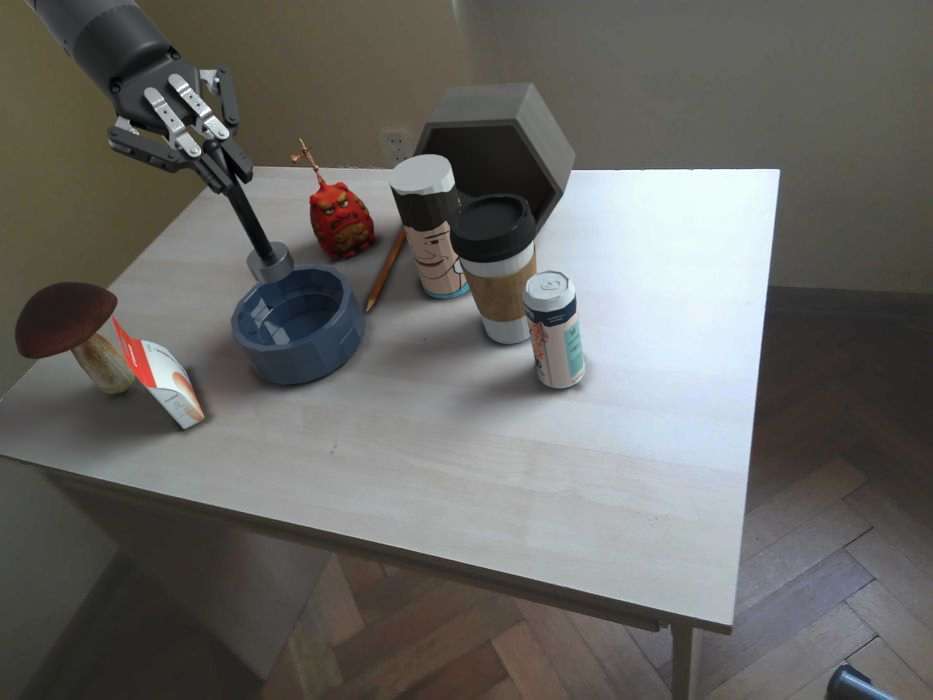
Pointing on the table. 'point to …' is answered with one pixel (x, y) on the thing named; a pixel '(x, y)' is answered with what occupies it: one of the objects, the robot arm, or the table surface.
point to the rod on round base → (253, 227)
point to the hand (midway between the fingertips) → (240, 184)
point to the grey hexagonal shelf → (500, 144)
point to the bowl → (299, 325)
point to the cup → (429, 221)
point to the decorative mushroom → (74, 331)
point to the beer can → (554, 328)
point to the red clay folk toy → (338, 216)
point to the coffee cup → (497, 260)
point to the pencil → (386, 269)
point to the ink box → (162, 377)
